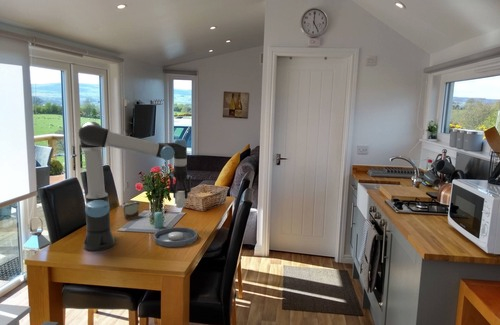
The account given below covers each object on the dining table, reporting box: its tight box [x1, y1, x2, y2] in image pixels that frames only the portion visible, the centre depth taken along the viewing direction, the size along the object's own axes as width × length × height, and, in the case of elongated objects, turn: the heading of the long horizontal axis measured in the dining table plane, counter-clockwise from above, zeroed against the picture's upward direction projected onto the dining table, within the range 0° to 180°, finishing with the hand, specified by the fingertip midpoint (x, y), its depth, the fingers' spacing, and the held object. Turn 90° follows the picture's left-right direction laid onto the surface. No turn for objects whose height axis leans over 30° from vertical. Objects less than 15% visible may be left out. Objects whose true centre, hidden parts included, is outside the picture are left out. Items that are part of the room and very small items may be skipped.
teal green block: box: [154, 211, 164, 229], centre depth 231 cm, size 5×5×9 cm
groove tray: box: [152, 226, 199, 248], centre depth 212 cm, size 24×24×3 cm
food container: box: [121, 200, 141, 220], centre depth 250 cm, size 12×6×10 cm, turn 141°
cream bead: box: [175, 190, 186, 209], centre depth 227 cm, size 5×5×9 cm
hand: (180, 203), depth 228 cm, fingers closed on cream bead, 4 cm apart
